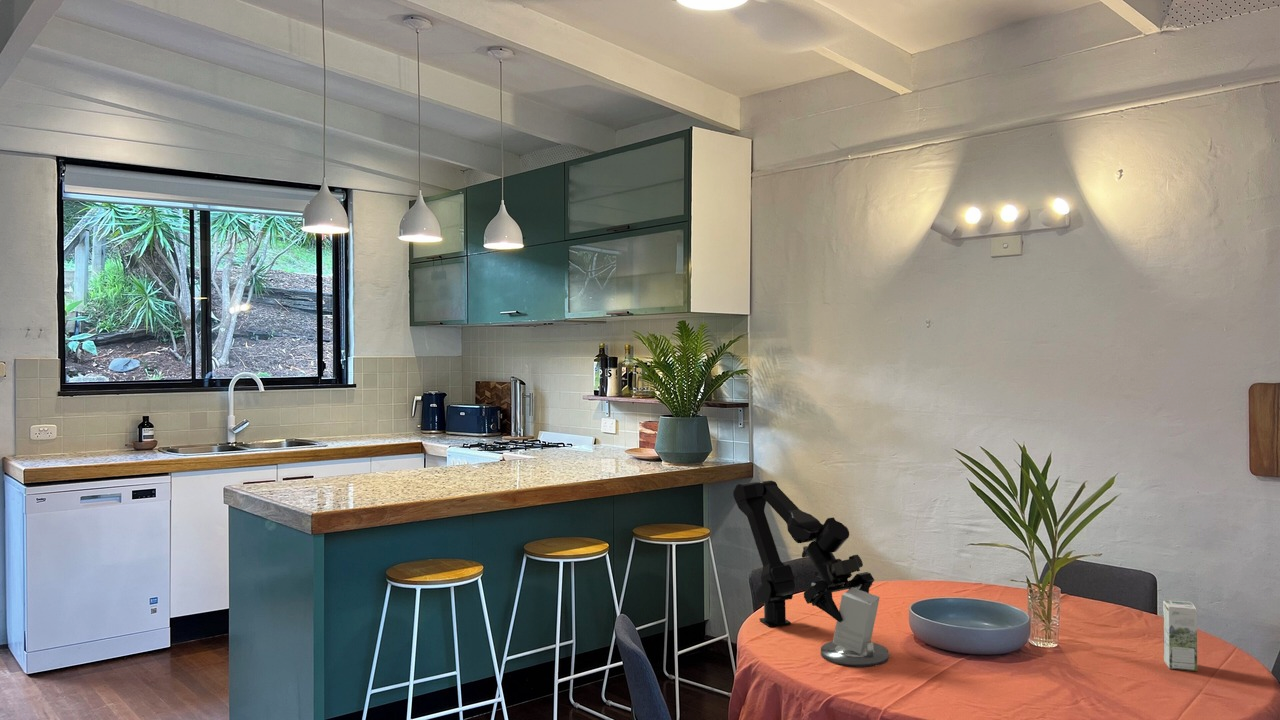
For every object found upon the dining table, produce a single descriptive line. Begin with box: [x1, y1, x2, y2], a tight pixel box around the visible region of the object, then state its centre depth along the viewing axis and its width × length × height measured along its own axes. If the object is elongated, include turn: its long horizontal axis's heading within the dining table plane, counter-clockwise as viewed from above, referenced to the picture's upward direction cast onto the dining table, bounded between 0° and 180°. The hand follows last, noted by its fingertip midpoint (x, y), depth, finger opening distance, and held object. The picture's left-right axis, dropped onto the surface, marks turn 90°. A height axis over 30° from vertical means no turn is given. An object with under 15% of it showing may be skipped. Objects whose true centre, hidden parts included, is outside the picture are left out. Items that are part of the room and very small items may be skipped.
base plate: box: [820, 640, 890, 668], centre depth 217 cm, size 16×16×4 cm
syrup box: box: [1162, 599, 1198, 672], centre depth 205 cm, size 6×6×14 cm
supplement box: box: [832, 587, 881, 654], centre depth 217 cm, size 7×7×13 cm
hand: (856, 618), depth 216 cm, fingers closed on supplement box, 9 cm apart
